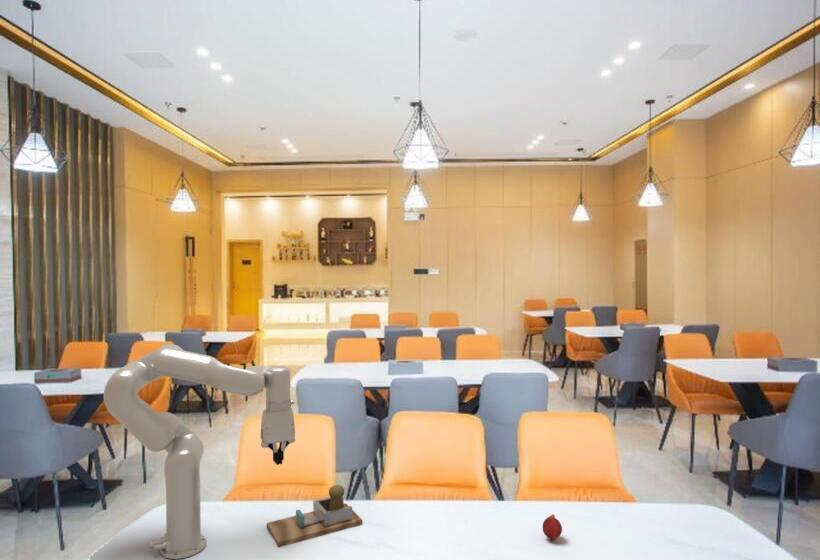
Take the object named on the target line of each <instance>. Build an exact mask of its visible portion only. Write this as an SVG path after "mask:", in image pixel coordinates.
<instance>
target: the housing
mask: <svg viewBox="0 0 820 560" xmlns="http://www.w3.org/2000/svg"><path fill="white" fill-rule="evenodd" d="M312 504H313V505H312V507H313V508H312V510H313V511H312V512H313V513H314V514H315V516H311V517H307V518H304V515H303V514H304V513H303V512H302V511H301V509H297V510H295V516H296V522H297V523H298V525H299V526H300V528H303V527H304V526H307V525H311V524H315V523H319V522H322V524H323V525H324V526H329V525H332V524H336V523H340V522H344V521H347V520H351V519H352V510H353V507H352V506H351V505H348V507H344V508H340V509H336V510H332V511H329V505H330V496H329V497H325V498H321V499H317V500H316V499H315V500H313V502H312ZM327 511H328V512H327Z"/></svg>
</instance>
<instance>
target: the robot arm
mask: <svg viewBox="0 0 820 560" xmlns="http://www.w3.org/2000/svg"><path fill="white" fill-rule="evenodd" d="M162 377H166V378H167V377H168V378H172V379H177V380H184V381H188V382H193V383H198V384H202V385H205V386H207V387H210V388H213V389H217V390H219V391H223V392H226V393H231V394H235V395H241V396H248V397H250V396H251V397H253V396H257V395H259V394H260V393H262V391H263V390H264V389H265V409H263V411H262V414H261V415H262V416H261V422H260V423H261V424H260V440H261V443H260V447H262V448H265V449H266V448H267V449H270V450H271V451H272V461H273V463H274V464H275V465H277V466H278V465H282V464H283V461H284V460H285V456H284V453H285V450H286V449H287V447H288V446H289V445H291V444H294V443H295V442H296V438H295V437H296V425H295V416H294V411H293V408H292V407H291V406H293V405H295V399H291V370H290V368H289V367H288V366H286V365H275V366H274V365H273V366H259V365H250V366H248V367H246V368H245V369H242V368H238V367H237V368H236V367H233V366H230V365H227V364H224V363H222V362H221V361H220V360H218V359H217V358H215V357H213V356H211V355H208V354H202V353H197V352H194V351H188V350H184V349H183V348H182V347H180V346H179V345H177V344H174V343H173V344H172V343H170V344H164V345H162V346H161V347H159V348H157V349H154V351H151V352H150V353H147V354H145V355H144V356H142V357H140V358H137V359H135V360H134V361H131V362H129V363H128V364H127V363H126V365H124V366H123V367H120V368H119V369H117V370H116V371H115V372H114V373H112V375H111V376H110V377H109V379H108V380H107V382H106V384H105V387H104V389H103V402H104V406H105V408H106V410H107V411H108V412H109V413H110V415H111V416H113V418H114V419H115V420H117V421H118V422H119V423H120V424H121V425H122V426H123V427H124V428H125V429H126V430H127V431H128V433H130V434H131V436H133V437H134V438H135V439H136V440H137V441H138V442H139V443H140V444H141V445H142V446H144V448H145V449H147V450H148V451H151V452H157V453H158V452H161V451H165V452H166V453H167V455H166V457H165V461H164V465H163V466H164V467H163V470H164V471H163V472H164V482H165V504H166V505H165V506H166V507H165V510H166V511H165V513H166V514H165V515H166V516H165V517H166V518H165V519H166V520H165V521H166V522H165V524H166V525H165V527H166V528H165V530H166V532H165V533H164V536H162V537H161V538H160V539H154V540H150V541H149V542H148V543H149V544H148V546H149V547H148V548H149V549H152V548H153V549H154V551H157V550H160V555H161V556H162V557H163V558H165V559H168V560H169V559H170V560H178V559H179V560H180V559H185V558H189V557H192V556H194V555H196V554H198V553H200V552H201V551H202V550H204V548H205V547H206V545H207V538H206V537H205V536H204V535H202V533H201V531H202V529H201V521H202V520H201V519H202V517H201V477H200V476H201V473H200V472H201V471H200V469H201V467H200V466H201V460H202V457H203V455H204V444H203V442H202V440H201V438H200V437H199V436H198V435H197V434H196V433H195V431H193V430H192V429H191V428H190V427H188V426H187V424H186V423H185V422H184V421H183V420H181V418H179V417H178V416H177V415H175V414H174V413H172V412H168V411H161V412H157V411H156V410H155V409H154V408H152V407H151V405H150V404H148V403H147V402H146V401H144V400H143V399H142V398H140V396H139V395H138V393H139V391H140V390H142V389H143V388H144V387H145V386H147V385H149V384H151V383H153V382H155V381H157V380H158V379H160V378H162ZM277 443H279V444H278V445H277Z"/></svg>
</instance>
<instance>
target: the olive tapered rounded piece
mask: <svg viewBox="0 0 820 560" xmlns="http://www.w3.org/2000/svg"><path fill="white" fill-rule="evenodd" d="M328 495H329V497H330V505H329V511H332V510H336V509H340V508H344V504H345V503H344V495H345V488H344V487H343V485H339V484H335V485H332V486H331V487H329V490H328Z"/></svg>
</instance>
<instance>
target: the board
mask: <svg viewBox="0 0 820 560" xmlns="http://www.w3.org/2000/svg"><path fill="white" fill-rule="evenodd" d="M348 506H349V505H348V503H344V507H348ZM327 512H328V511H327ZM302 514H303V515H304V518H307V517H311V516H315V514H314V513H313V511H309V512H306V513H302ZM361 525H363V518H361V517H360V516H359V515H358V514H357V512H355V511H354V509H352V519H351V520H347V521H344V522H340V523H336V524H332V525H329V526H324V525H323V524H322V522H319V523H315V524H311V525H307V526H304V527H303V528H300V526H299V525H298V523H297V522H296V515H294V516H290V517H285V518H280V519H277V520H273V521H269V522H266V529H267V531H268V532H269V534H270V535H271V538H272V539H273V541H274V542H275V544H276V546H277V547H278V548H280V547H284V546H288V545H291V544H296V543H298V542H302V541H306V540H309V539H314V538H318V537H321V536H324V535H328V534H332V533H336V532H339V531H343V530H346V529H349V528H355V527H357V526H358V527H359V526H361Z"/></svg>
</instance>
